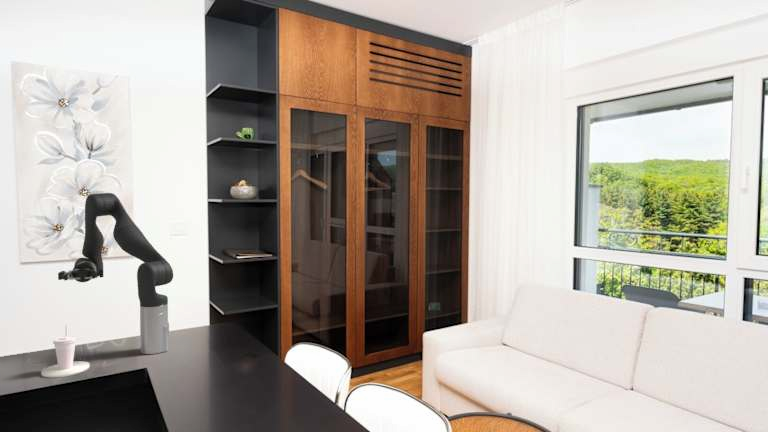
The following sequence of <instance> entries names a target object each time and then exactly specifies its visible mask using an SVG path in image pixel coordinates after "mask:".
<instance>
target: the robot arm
mask: <svg viewBox="0 0 768 432" xmlns="http://www.w3.org/2000/svg"><path fill="white" fill-rule="evenodd" d="M103 216H104V217H105V216H111V217H112V218H113V219H114V221H115V224H114V226H113V232H112V234H113V235H112V236H113V239H114V240H115V242H116V243H117V245H118V247H120V248H121V250H123V252H125V253H126V254H128V255H130V256H132V257H134V258H135V259H139V261H141V262H142V263H140V265H139V266H138V267H137V273H136V281H137V283H136V284H137V292H138V293H137V296H138V299H139V320H140V321H139V323H140V324H139V325H140V327H139V328H140V329H139V330H140V331H139V333H140V334H139V336H140V337H139V339H140V341H139V342H140V349H139V350H140V353H141V354H143V355H153V354H154V355H155V354H159V353H166V352H168V350H169V348H170V323H169V318H168V317H169V304H168V303H169V302H168V296H167V295H165V294H160V293H157V289H156V287H159V286H164V285H167V284H170V283H172V281H173V279H174V271H173V268H172V266H171V264H170V263H169V262H168V261H167V259H166V258H164V257H163V256H162V254H160V252H159V251H157V250H156V249H155V247H154V246H153V245H152V244H151V243H150V242H149V240H148V239H147V238H146V236H145V235H144V233H143V232H142V230H140V228H139V227H138V226H137V225H136V223H135V222H134V221H133V219H132V218H131V216H130V215H129V214H128V212H127V211H126V209H125V207H124V206H123V203H122V202H121V200H120V199H119V197H118V196H117V195H116V194H114V193H112V192H111V193H110V192H103V193H102V192H100V193H91V194H89V195H88V196H87V197H86V199H85V203H84V241H83V245H82V251H81V254H82V256H83V257H79V258H77V259H76V261H75V262H74V266H73V268H72V269H71V270H68V271H65V270H61V271H60V272H58V273H57V279H58V280H59V281H62V280H63V281H68V280H69V281H73V280H75V281H76V282H77V283H78V282H79V283H86V282H89V281H90V280H93V279H94V280H95V279H97V278H103V277H104V262H103V256H102V253H103V247H104V242H105V241H104V240H105V239H104V235H103V233H102V232H101V230H100V228H99V227H98V225H97V218H98V217H103Z"/></svg>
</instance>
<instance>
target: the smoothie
mask: <svg viewBox="0 0 768 432" xmlns="http://www.w3.org/2000/svg"><path fill="white" fill-rule="evenodd" d="M68 329H69V328H68V324H65V336H61V337H57V338H54V339H53V340H52V341H53V342H52V344H54V350H55V356H56V361H57V364H58V368H59V370H66V369H70V368H72V366H73V362H74V358H75V349H76V342H77V340H78V339H77V336H76V335H69V330H68Z"/></svg>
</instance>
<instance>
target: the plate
mask: <svg viewBox="0 0 768 432" xmlns="http://www.w3.org/2000/svg"><path fill="white" fill-rule="evenodd" d="M90 366H91V365H90V362H88V361H77V360H74V361H73V366H72V368H70V369H66V370H59V368H58V363H55V364H54V365H50V366H48V367H46V368H44V369H42V370H41V371H40V373H41V374H40V375H41V377H43V378H49V379H51V378H52V379H53V378H54V379H55V378H56V379H58V378H63V377H70V376H74V375H77V374H81V373H84V372H85V371H88V370H89V369H90Z"/></svg>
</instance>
